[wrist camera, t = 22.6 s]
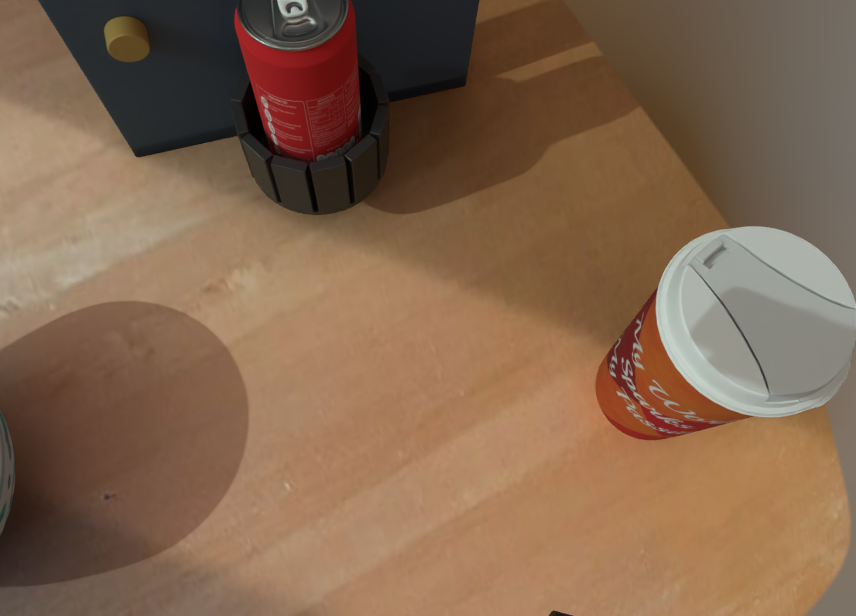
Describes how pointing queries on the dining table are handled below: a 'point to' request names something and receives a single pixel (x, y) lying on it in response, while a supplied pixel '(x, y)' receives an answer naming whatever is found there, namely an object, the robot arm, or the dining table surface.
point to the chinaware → (6, 472)
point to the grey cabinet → (232, 91)
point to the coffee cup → (731, 337)
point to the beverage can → (303, 74)
